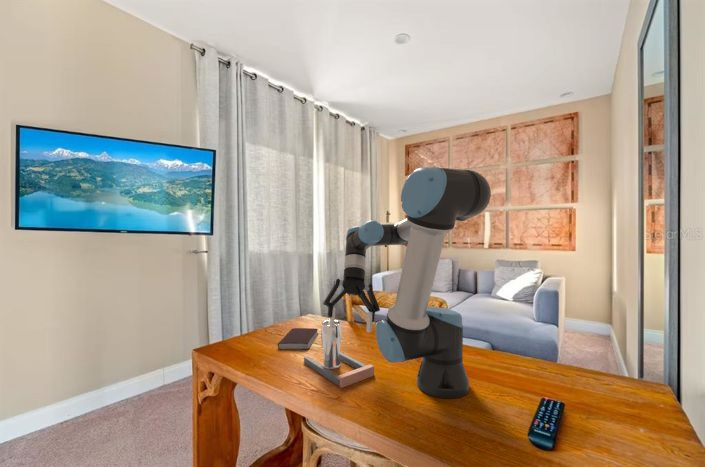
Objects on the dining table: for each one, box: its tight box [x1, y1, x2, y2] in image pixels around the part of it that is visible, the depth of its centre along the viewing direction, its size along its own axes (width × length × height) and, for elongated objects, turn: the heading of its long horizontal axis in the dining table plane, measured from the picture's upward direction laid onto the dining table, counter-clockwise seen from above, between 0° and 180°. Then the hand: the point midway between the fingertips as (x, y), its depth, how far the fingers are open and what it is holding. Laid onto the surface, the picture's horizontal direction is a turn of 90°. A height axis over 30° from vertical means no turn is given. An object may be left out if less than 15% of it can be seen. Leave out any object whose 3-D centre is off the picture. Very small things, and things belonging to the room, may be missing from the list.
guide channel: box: [303, 351, 375, 389], centre depth 110 cm, size 23×13×3 cm, turn 38°
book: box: [277, 327, 319, 351], centre depth 137 cm, size 12×19×3 cm, turn 174°
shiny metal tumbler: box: [320, 319, 342, 370], centre depth 112 cm, size 7×7×15 cm
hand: (350, 330), depth 108 cm, fingers open, 13 cm apart
